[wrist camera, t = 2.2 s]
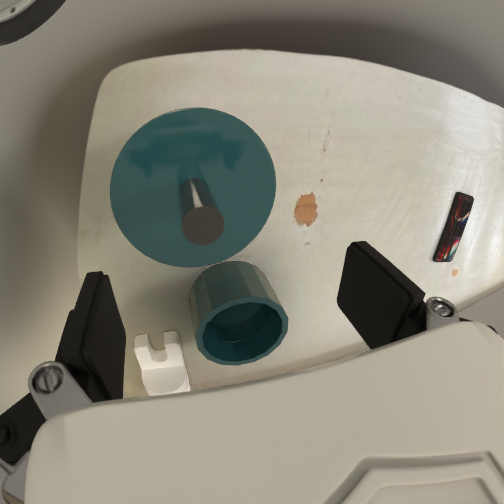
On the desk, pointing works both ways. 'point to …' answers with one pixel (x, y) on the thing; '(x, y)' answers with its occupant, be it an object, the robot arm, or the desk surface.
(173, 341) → the slotted bracket
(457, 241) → the smartphone
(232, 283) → the pot
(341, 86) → the desk surface
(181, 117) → the lid
